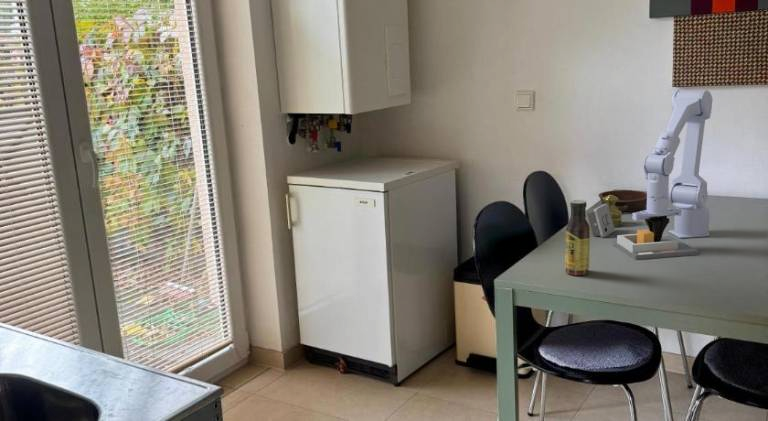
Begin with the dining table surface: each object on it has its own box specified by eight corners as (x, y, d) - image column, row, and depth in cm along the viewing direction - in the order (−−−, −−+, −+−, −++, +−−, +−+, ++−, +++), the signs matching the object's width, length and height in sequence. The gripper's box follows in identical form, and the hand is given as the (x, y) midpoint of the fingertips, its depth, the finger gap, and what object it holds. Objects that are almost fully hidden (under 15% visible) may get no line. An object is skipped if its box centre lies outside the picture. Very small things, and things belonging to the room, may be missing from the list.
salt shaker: (597, 227, 235) (597, 197, 233) (599, 221, 242) (600, 192, 240) (621, 228, 233) (621, 198, 230) (622, 222, 239) (623, 193, 237)
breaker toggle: (646, 243, 210) (647, 229, 209) (653, 247, 206) (654, 233, 205) (636, 244, 210) (637, 230, 209) (643, 248, 205) (643, 234, 204)
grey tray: (670, 239, 217) (671, 228, 216) (697, 254, 201) (697, 242, 200) (612, 244, 215) (612, 233, 215) (635, 259, 200) (635, 247, 199)
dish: (592, 213, 254) (592, 199, 253) (605, 200, 273) (605, 187, 272) (643, 216, 246) (644, 202, 245) (653, 202, 264) (653, 189, 263)
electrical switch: (603, 238, 222) (601, 209, 220) (587, 238, 225) (585, 209, 224) (615, 231, 229) (612, 203, 228) (599, 231, 232) (597, 203, 231)
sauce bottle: (561, 270, 195) (561, 199, 190) (584, 268, 195) (584, 197, 191) (570, 277, 188) (570, 204, 184) (593, 275, 189) (593, 202, 184)
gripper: (671, 190, 210) (670, 235, 213) (627, 195, 207) (626, 241, 210) (686, 195, 203) (684, 241, 206) (640, 200, 200) (639, 247, 203)
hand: (656, 241), depth 208 cm, fingers closed
